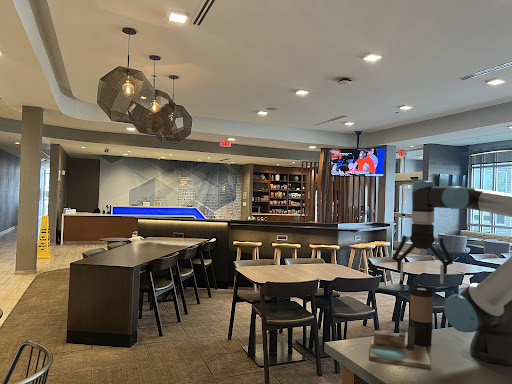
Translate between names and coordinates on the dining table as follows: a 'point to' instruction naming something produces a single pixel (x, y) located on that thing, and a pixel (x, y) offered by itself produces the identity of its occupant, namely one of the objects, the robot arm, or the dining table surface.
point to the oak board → (414, 353)
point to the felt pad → (389, 353)
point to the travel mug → (421, 314)
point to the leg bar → (389, 338)
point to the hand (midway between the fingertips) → (421, 281)
